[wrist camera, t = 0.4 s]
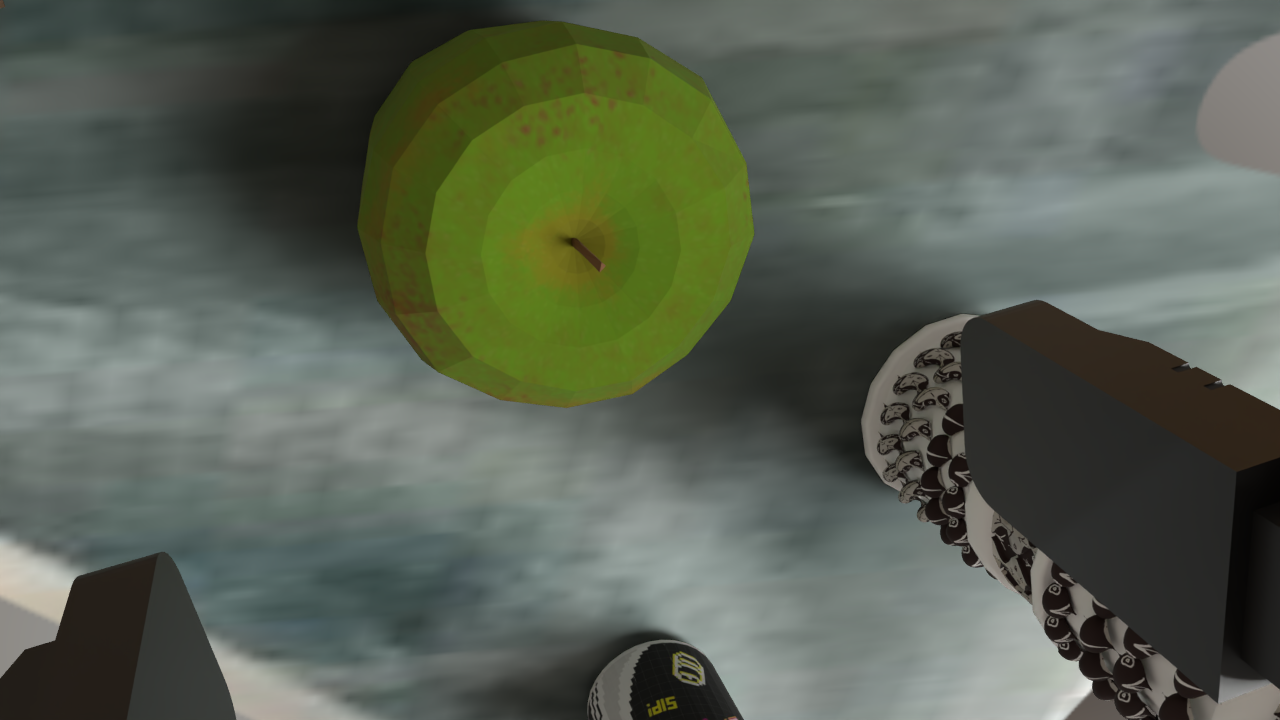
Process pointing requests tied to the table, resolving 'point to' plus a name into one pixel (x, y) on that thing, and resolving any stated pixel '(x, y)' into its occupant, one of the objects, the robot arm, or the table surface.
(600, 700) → the beverage can
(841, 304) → the table surface
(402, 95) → the apple
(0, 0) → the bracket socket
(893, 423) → the decorative candle
